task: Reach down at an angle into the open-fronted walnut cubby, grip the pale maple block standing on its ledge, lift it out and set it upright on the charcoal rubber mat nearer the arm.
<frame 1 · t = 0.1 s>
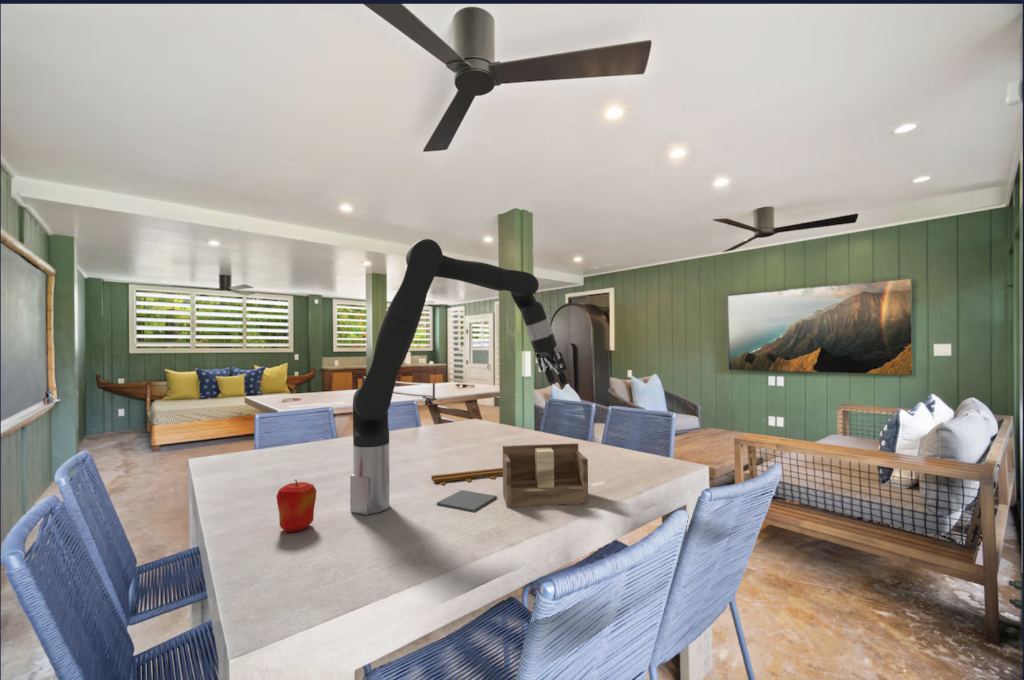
hand: (558, 383, 140), 31 cm above the table, tool tilted 20°, fingers open, 8 cm apart
charcoal mat: (467, 501, 123), on the table
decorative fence: (470, 479, 146), on the table
walnut cubby: (543, 498, 125), on the table
maple block: (544, 485, 124), point 4 cm above the table, touching walnut cubby
apple: (296, 529, 105), on the table
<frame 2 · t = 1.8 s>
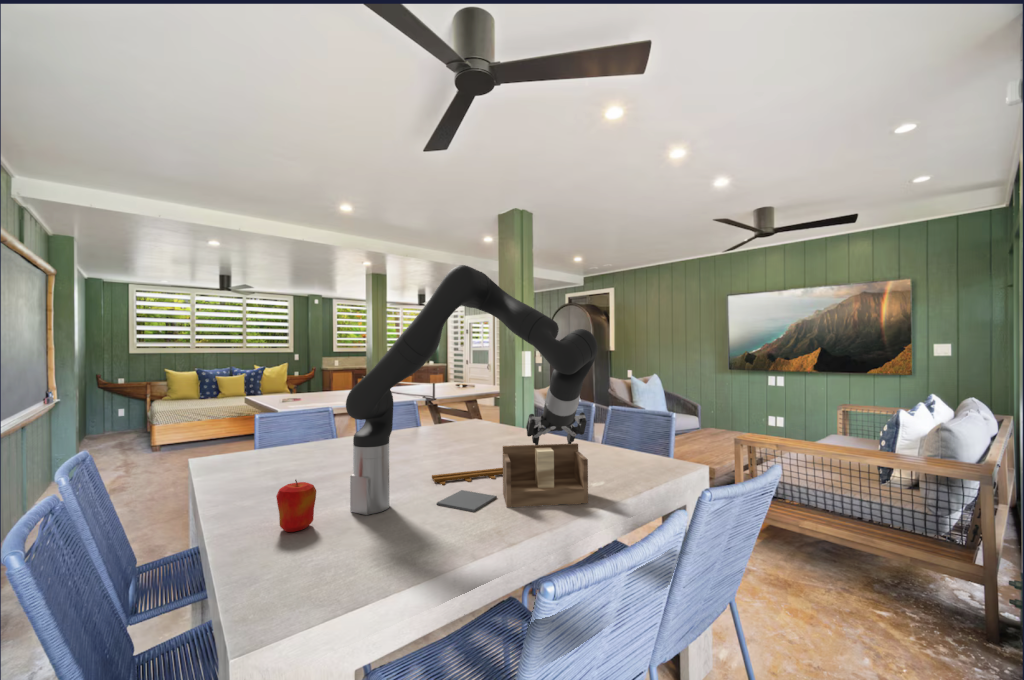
hand: (552, 441, 112), 19 cm above the table, tool tilted 45°, fingers open, 8 cm apart
nothing on the table moved.
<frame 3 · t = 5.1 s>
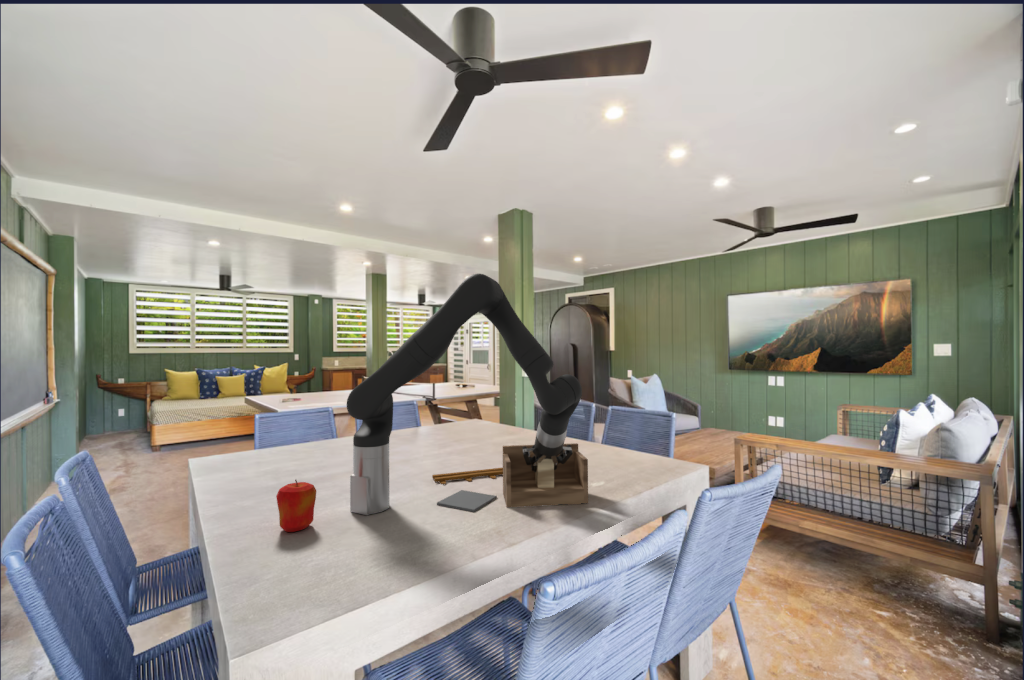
hand: (543, 468, 125), 8 cm above the table, tool tilted 45°, fingers closed on maple block, 4 cm apart
maple block: (544, 485, 124), point 4 cm above the table, touching gripper, walnut cubby
everything else where it was.
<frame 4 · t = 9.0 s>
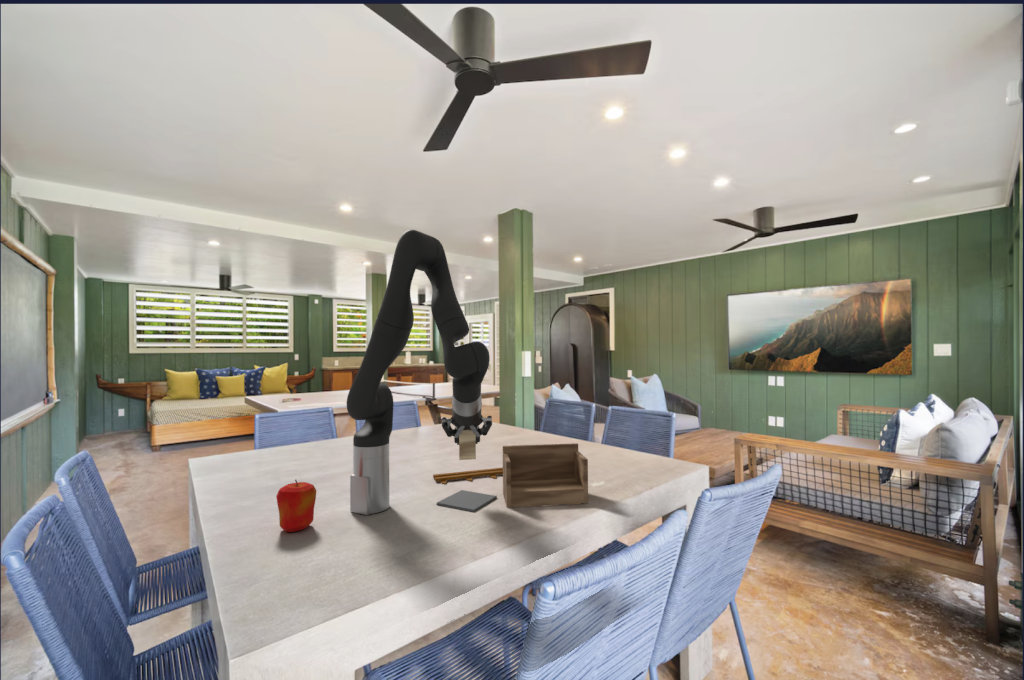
hand: (467, 441, 125), 16 cm above the table, tool tilted 45°, fingers closed on maple block, 4 cm apart
maple block: (467, 457, 123), point 12 cm above the table, touching gripper
everything else where it was.
when the fingers open (6 cm above the table, at t = 11.1 s): maple block drops 1 cm, resting on charcoal mat.
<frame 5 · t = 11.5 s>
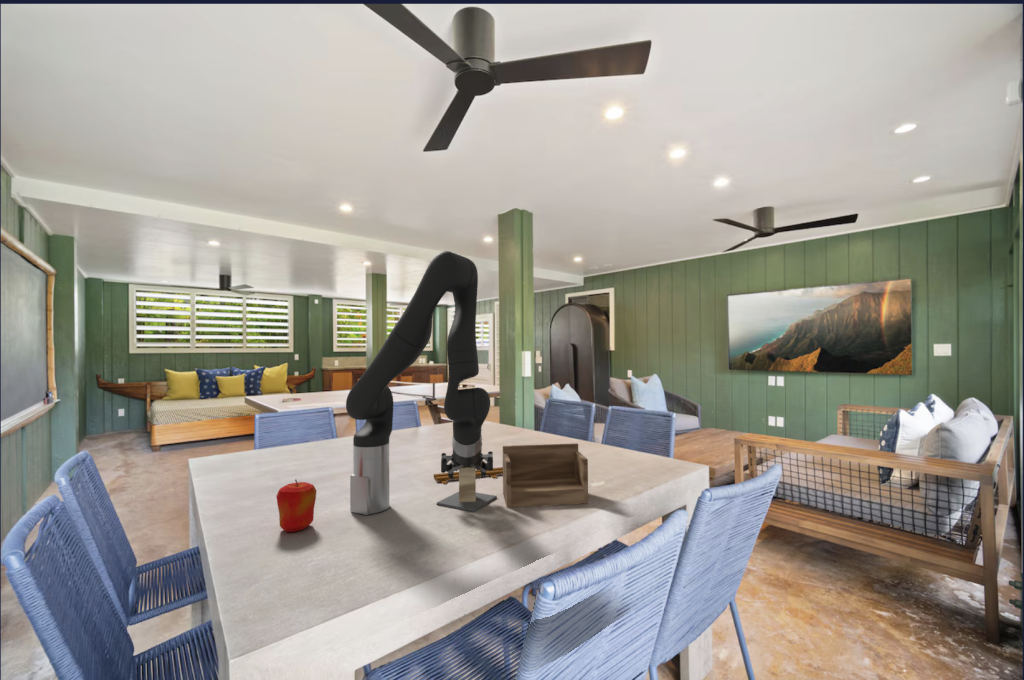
hand: (467, 476, 124), 7 cm above the table, tool tilted 45°, fingers open, 8 cm apart
maple block: (467, 499, 123), point 1 cm above the table, touching charcoal mat
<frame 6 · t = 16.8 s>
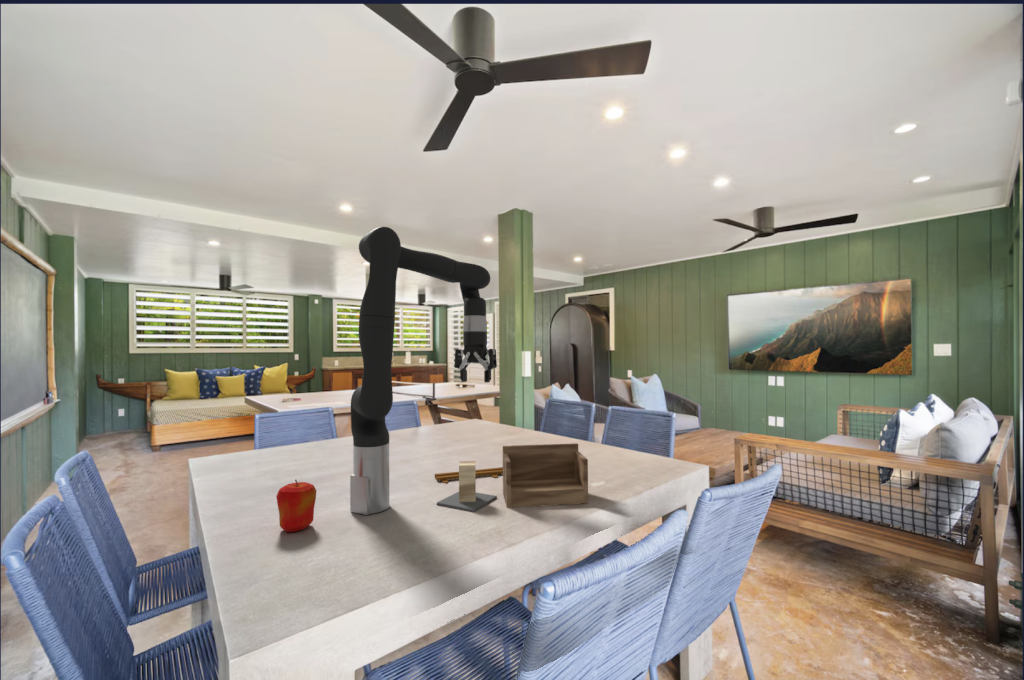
hand: (475, 382, 139), 32 cm above the table, tool pointing down, fingers open, 8 cm apart
at the end: maple block inside the target area on the charcoal mat (0.1 cm from its centre), point 0.6 cm above the charcoal mat's base; maple block tilted 0°; the gripper is holding nothing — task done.
